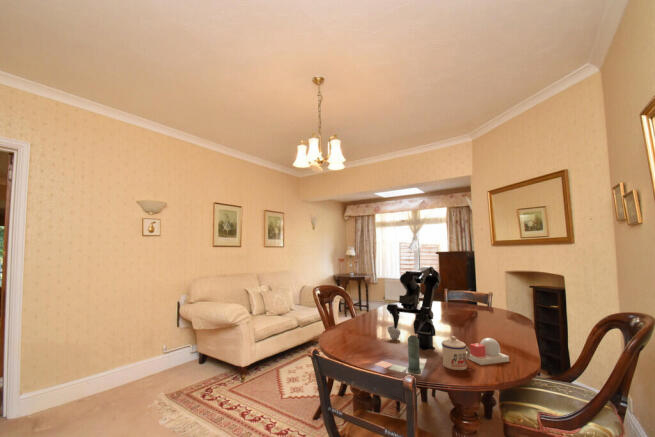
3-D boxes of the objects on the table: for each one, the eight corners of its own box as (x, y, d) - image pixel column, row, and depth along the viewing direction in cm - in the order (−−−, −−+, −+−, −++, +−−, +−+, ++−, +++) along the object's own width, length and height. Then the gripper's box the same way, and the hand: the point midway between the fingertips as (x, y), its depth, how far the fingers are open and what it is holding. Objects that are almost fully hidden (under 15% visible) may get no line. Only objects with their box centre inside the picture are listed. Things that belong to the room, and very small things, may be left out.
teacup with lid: (452, 373, 112) (451, 340, 114) (437, 364, 121) (436, 334, 122) (479, 369, 116) (477, 338, 117) (462, 361, 124) (460, 332, 125)
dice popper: (490, 353, 133) (489, 334, 134) (509, 361, 123) (507, 340, 124) (463, 356, 129) (462, 336, 130) (480, 365, 120) (479, 343, 121)
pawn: (416, 368, 115) (415, 333, 117) (423, 373, 111) (422, 336, 112) (405, 369, 114) (404, 334, 115) (412, 374, 109) (410, 337, 111)
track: (422, 357, 128) (422, 356, 128) (448, 373, 112) (448, 372, 112) (371, 363, 122) (371, 361, 122) (391, 381, 106) (391, 379, 106)
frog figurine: (390, 337, 159) (390, 323, 160) (403, 339, 155) (402, 325, 156) (385, 339, 155) (385, 325, 156) (397, 342, 150) (397, 327, 151)
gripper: (386, 285, 132) (377, 318, 123) (428, 288, 121) (423, 325, 113) (394, 297, 139) (387, 330, 130) (435, 301, 128) (430, 337, 119)
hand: (405, 330), depth 123 cm, fingers open, 9 cm apart
